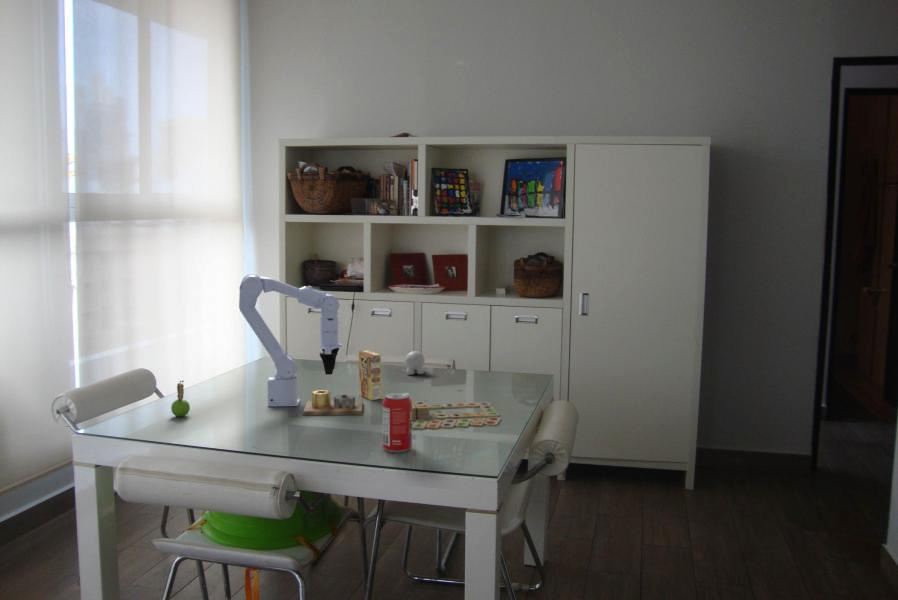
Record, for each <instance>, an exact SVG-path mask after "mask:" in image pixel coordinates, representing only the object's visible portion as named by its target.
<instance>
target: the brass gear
mask: <svg viewBox="0 0 898 600" xmlns="http://www.w3.org/2000/svg"><path fill="white" fill-rule="evenodd" d="M331 393H332V392H331V391H330V390H328V389H326V390H325V389H319V390H313V391H312V392H311V401H312V406H313V407H314V408H325V407H326V408H327V407H329V406H331V401H332V398H331V397H332V395H331Z"/></svg>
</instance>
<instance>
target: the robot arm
mask: <svg viewBox="0 0 898 600" xmlns="http://www.w3.org/2000/svg"><path fill="white" fill-rule="evenodd" d="M262 292H264V294H265V293H270V292H276V293H279V294H284V295H287V296H290V297H293V298H296V300H297V302H298V303H299V304H301V305H303V306H307V307H311V308H313V309H317V310H318V309H320V345H319V346H320V348H321V350H322V352H319V357H320V358H321V361H322V363H323V364H322V365H323V368H324V369H323V370H324V373H325V375H326V376H327V375H333V373H334V370H335V367H336V366H335V365H336V361H337V360H336V359H337V356H338V352H339V350H340V347H341V348H342V347H343V344H342V343H339V317H338V314H339V313H338V310H339V309H340V304H339V300H338V299H337V297H335V296H334V295H333V294H331V293H327V291H325V290H323V291H322V290H321V291H320V290H318V289H315V288H313V286H311V285H308V286H306V285H305V286H302V287H300V288H299V287H296V286H293V285H291V284H289V283H286V282H283V281H281V280H277V279H275V278H272V277H268V276H263V275H259V276H258V275H257V274H254V273H250V274H247V275H245V276H244V277H243V279H242V280H241V282H240V285H239V295H238V296H239V299H238V308H239V312H240V313H241V314H242V316H243V317H244V318H245V321H246V322H247V323H248V325H249V326H250V328H251V330H252V331H253V332H254V334H255V335H256V336H257V338H258V340H259V341H260V343H261V345H262V346H263V347H264V348H265V351H266V352H267V353H268V354H269V356H270V358H271V360H272V362H273V363H274V366H275V370H276V373H275V374H274V376H273V377H271V376H270V377H268V378H267V407H298V405H299V404H300V402H301V399H300V398H298V374H296V373H297V371H298V370H297V369H298V368H297V364H296V362H295V360H294V358H293V356H291V355H290V354H287V353H286V351H285V350H284V349H283V347H282V346H281V344H280V343H279V341H278V339H277V338H276V336H275V335H274V334H273V332H272V330H271V329H270V328H269V325H267V323H266V322H265V320H264V319H263V317H262V315H261V314H260V313H259V310H257V307H256V304H257V302H258V298H259V296H260V295H261V294H262Z"/></svg>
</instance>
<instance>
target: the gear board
mask: <svg viewBox="0 0 898 600" xmlns="http://www.w3.org/2000/svg"><path fill="white" fill-rule="evenodd" d="M363 406H364V400H356V396H354V395H352V394H342V395H340V394H339V395H336V396H334V397H333V400H331V406H329V407H327V408H326V407H325V408H314V407H313V406H312V400H307V402H306V404H305V406H304V409H303V411H302V415H303V416H341V415H343V416H345V415H346V416H348V415H349V416H353V415H354V416H355V415H356V416H357V415H359V416H360V415H362V414H363Z"/></svg>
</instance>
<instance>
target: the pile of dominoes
mask: <svg viewBox="0 0 898 600" xmlns="http://www.w3.org/2000/svg"><path fill="white" fill-rule="evenodd" d="M466 408H467V409H471V408H472V409H473V408H474V409H476V408H479V409H480V410H481V411H482V412H479V411H478V412H473V413H471V412H465V413H463V412H461V413H448V414H447V412H446V411H445V410H448V409H466ZM429 409H430V410H434V411H432V416H433V417H434V416H435V417H434V418H435V419H430V410H429ZM442 409H443V410H442ZM444 409H445V410H444ZM439 419H440V420H439ZM457 419H458V420H457ZM412 420H414V421H412V429H413V430H414V431H424V429H425V430H426V429H427V430H439V429H440V428H441V429H450V430H452V429H454V428H459V429H460V428H462V429H468V428H469V427H475V428H476V427H477V428H481V427H482V428H483V426H486V427H487V426H488V427H497V426H498V425H499V424H500V422H501V421H502V418H501V417H500V414H499V412H497V410H496V409H495V408H494V407H493V405H492V404H491V403H490V402H489V401H488V402H487V401H484V402H481V401H480V402H466V403H465V402H464V403H463V402H462V403H461V402H459V403H442V404H441V403H435V404H434V403H433V404H431V403H429V404H427V402H426V401H412ZM413 430H412V431H413Z"/></svg>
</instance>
